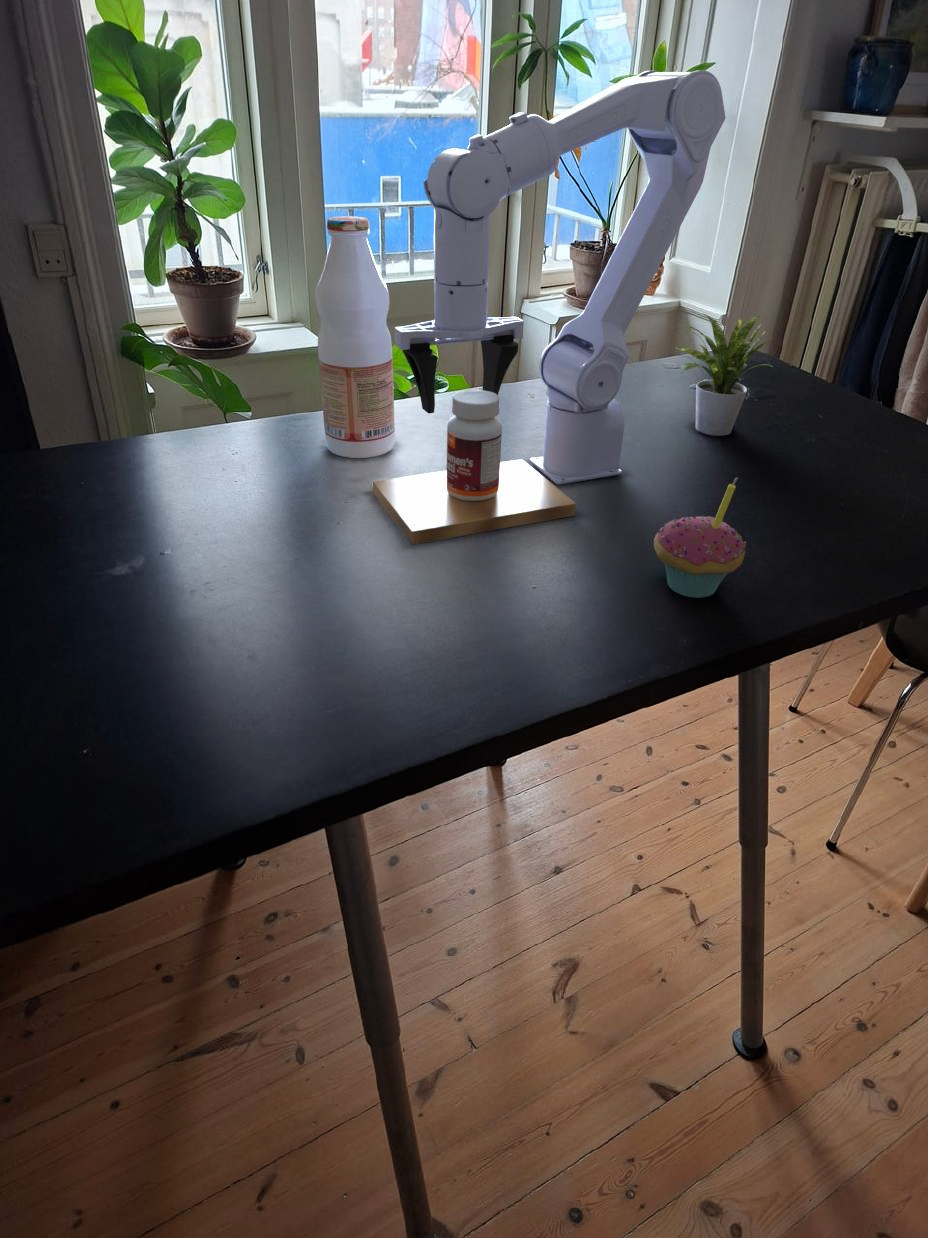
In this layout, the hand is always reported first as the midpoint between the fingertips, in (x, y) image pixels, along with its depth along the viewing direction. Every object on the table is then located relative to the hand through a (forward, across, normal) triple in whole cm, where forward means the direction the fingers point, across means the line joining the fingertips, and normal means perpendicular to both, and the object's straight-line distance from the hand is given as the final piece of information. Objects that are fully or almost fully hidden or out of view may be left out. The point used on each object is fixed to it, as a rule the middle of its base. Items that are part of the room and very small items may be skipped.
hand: (459, 406), depth 92 cm
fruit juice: (+11, -7, +18) cm, 22 cm away
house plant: (+11, +44, +7) cm, 46 cm away
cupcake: (+11, +13, -29) cm, 34 cm away
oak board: (+10, 0, -4) cm, 11 cm away
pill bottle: (+9, 0, -4) cm, 10 cm away
